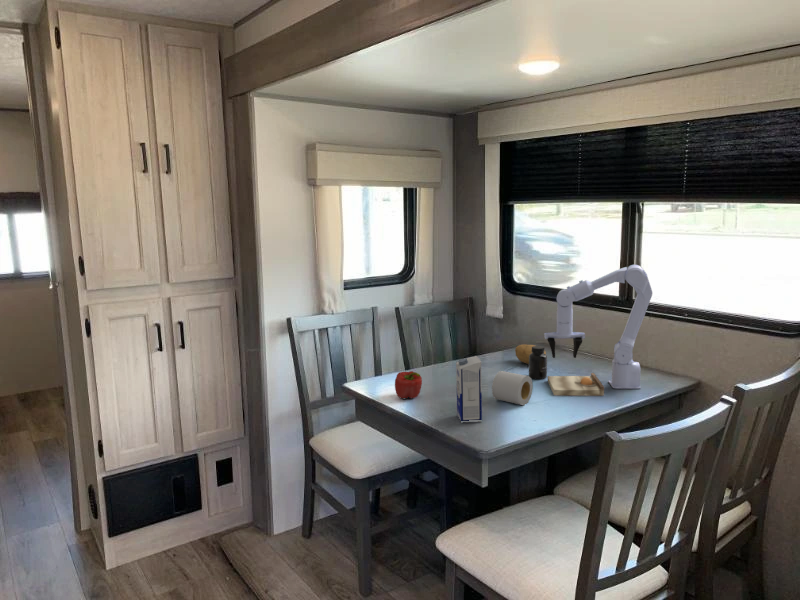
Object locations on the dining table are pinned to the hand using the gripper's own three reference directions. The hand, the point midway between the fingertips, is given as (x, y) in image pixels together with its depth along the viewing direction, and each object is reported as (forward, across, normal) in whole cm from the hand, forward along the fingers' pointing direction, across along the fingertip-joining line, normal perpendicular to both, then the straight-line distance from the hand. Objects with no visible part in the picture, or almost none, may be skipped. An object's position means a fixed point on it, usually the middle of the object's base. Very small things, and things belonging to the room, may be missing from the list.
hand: (564, 357), depth 221 cm
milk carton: (+10, +36, +38) cm, 53 cm away
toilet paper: (+10, +21, +22) cm, 32 cm away
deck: (+9, -2, +8) cm, 13 cm away
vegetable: (+10, +57, +18) cm, 61 cm away
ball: (+7, -7, +8) cm, 13 cm away
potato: (+10, +10, -23) cm, 27 cm away
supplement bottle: (+10, +9, -5) cm, 14 cm away
